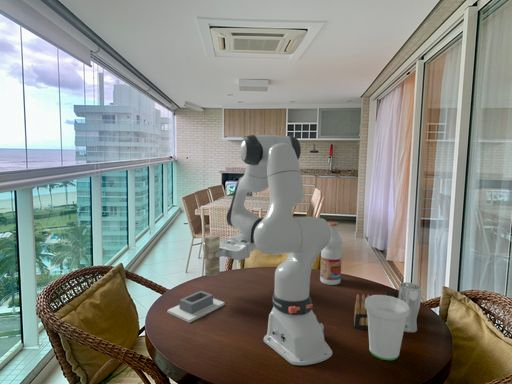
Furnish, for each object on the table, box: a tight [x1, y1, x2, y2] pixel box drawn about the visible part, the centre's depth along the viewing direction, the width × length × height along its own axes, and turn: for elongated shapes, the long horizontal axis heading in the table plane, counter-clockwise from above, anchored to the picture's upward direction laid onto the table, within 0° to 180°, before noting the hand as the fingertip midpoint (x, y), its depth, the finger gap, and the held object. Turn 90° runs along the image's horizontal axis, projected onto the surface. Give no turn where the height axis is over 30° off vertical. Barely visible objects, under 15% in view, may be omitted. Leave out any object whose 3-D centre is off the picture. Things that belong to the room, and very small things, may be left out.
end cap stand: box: [166, 290, 226, 324], centre depth 127 cm, size 12×18×4 cm, turn 143°
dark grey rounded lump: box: [384, 288, 399, 298], centre depth 125 cm, size 8×7×8 cm
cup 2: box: [365, 294, 410, 361], centre depth 100 cm, size 12×12×15 cm
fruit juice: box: [319, 221, 343, 286], centre depth 155 cm, size 9×9×28 cm
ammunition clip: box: [352, 293, 375, 330], centre depth 114 cm, size 11×2×12 cm, turn 87°
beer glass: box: [398, 281, 422, 334], centre depth 114 cm, size 7×7×15 cm
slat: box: [204, 235, 221, 278], centre depth 131 cm, size 3×5×15 cm, turn 142°
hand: (210, 253), depth 130 cm, fingers closed on slat, 3 cm apart
